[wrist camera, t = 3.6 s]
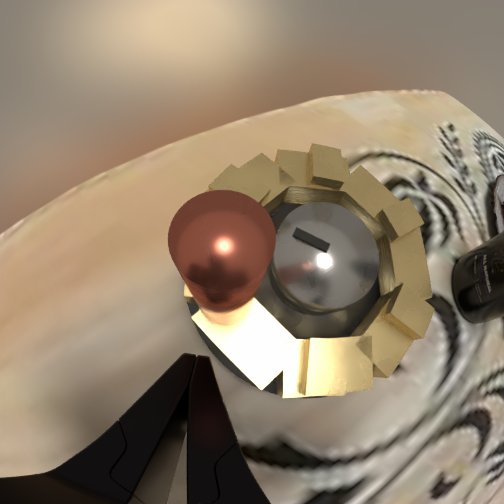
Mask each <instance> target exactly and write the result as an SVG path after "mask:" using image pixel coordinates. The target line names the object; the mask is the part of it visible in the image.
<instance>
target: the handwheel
mask: <svg viewBox="0 0 504 504" xmlns="http://www.w3.org/2000/svg"><path fill="white" fill-rule="evenodd" d="M313 202H328V203H333V204H337V205H339V206H342V207H344V208H346V209H348V210H350V211H351V212H353V213H354V214H355V215H357V216H358V217H359V218H360V219H361V220H362V221H363V222H364V223H365V224H366V226H367V227H368V228H369V230H370V231H371V233H372V235H373V237H374V239H375V241H376V244H377V248H378V252H379V271H378V280H379V288H380V297H379V299H378V300H377V301H376V303H375V304H374V306H373V307H372V308H371V310H370V311H369V312H368V314H367V315H366V316H365V317H364V319H363V320H362V321H361V323H360V324H359V325H358V326H357V328H356V329H355V330H354V331H353V333H352V334H351V335H350V336H349V337H342V338H307V339H295V338H294V337H293V336H292V335H291V334H290V333H289V332H288V331H287V330H286V329H285V328H284V327H283V326H282V325H281V324H280V323H279V322H278V321H277V320H276V319H275V318H274V317H273V316H272V315H271V314H270V313H269V312H268V311H267V310H266V309H265V308H264V307H263V306H262V305H261V304H260V303H259V302H258V301H257V300H256V299H255V298H254V297H255V295H256V292H257V290H258V288H259V286H260V283H261V281H262V279H263V277H264V275H265V272H266V270H267V268H268V266H269V263H270V261H271V259H272V256H273V253H274V251H275V245H276V232H275V227H274V224H273V221H272V219H271V217H270V215H269V214H271V213H272V212H273V211H274V210H275V209H277V208H278V207H279V206H280V205H281V204H283V203H294V204H308V203H313ZM423 224H424V222H423V220H422V218H421V217H420V215H419V213H418V212H417V210H416V209H415V207H414V205H413V204H412V202H411V201H410V199H409V198H408V199H405V200H403V201H399V200H398V199H397V198H396V197H395V196H394V195H393V194H392V193H391V192H390V191H389V190H388V189H387V188H386V187H385V186H383V185H382V184H381V183H380V182H379V181H378V180H377V179H376V178H375V177H374V176H372V175H371V174H370V173H369V172H368V171H367V170H366V169H364V168H363V167H362V166H361V165H360V166H359V167H358V168H357V169H356V170H355V171H354V172H352V173H351V174H350V172H349V168H348V163H347V159H346V158H342V157H341V149H336V148H332V147H327V146H322V145H318V144H313V143H312V145H311V148H310V150H309V153H306V152H298V151H289V150H279V149H278V150H277V154H276V159H275V163H274V162H273V161H272V160H270V159H269V158H268V157H267V156H265V155H264V154H263V153H261V154H259V155H258V156H256V157H255V158H253V159H252V160H250V161H249V162H247V163H246V164H244V165H243V166H241V167H240V168H237V167H235V166H233V165H232V164H231V165H230V166H229V167H227V168H226V169H225V170H224V171H223V172H222V173H221V174H220V175H219V176H218V177H217V178H216V179H215V180H214V181H213V182H212V183H211V184H210V185H209V189H208V190H207V191H206V192H204V193H202V194H199V195H197V196H195V197H193V198H192V199H190V200H189V201H187V202H186V203H185V204H184V205H183V206H182V207H181V208H180V209H179V210H178V212H177V213H176V214H175V216H174V218H173V220H172V222H171V225H170V228H169V233H168V247H169V251H170V255H171V257H172V260H173V261H174V263H175V265H176V267H177V269H178V271H179V273H180V274H181V276H182V278H183V280H184V282H185V286H184V297H185V299H186V300H187V301H188V303H189V304H197V305H198V306H199V308H200V310H199V311H198V312H197V313H195V314H194V315H193V316H192V317H191V318H192V319H193V320H194V321H195V323H196V324H197V325H198V326H199V327H200V328H201V329H202V330H203V331H204V332H205V334H206V335H207V336H208V337H209V338H210V339H211V340H212V341H213V342H214V343H215V344H216V345H217V346H218V347H219V348H220V350H221V351H222V352H223V353H224V354H225V355H226V356H227V357H228V358H229V359H230V360H231V361H232V362H233V363H234V364H235V365H236V366H237V367H238V368H239V369H240V370H241V371H242V372H243V373H244V374H245V375H246V376H247V377H248V378H249V379H250V380H251V381H252V382H253V383H254V384H256V385H257V386H258V387H259V388H260V389H261V390H262V389H263V388H264V387H266V386H267V385H268V384H269V383H270V382H271V381H272V380H273V379H274V378H275V377H276V393H277V394H278V395H280V396H281V397H282V398H294V397H309V396H336V395H345V393H346V392H353V391H360V390H366V389H372V388H373V377H380V378H389V377H390V375H391V374H392V372H393V371H394V370H395V368H396V367H397V365H398V364H399V362H400V361H401V360H402V358H403V357H404V355H405V353H406V352H407V350H408V349H409V347H410V346H411V344H412V343H413V341H414V340H417V339H422V338H424V336H425V333H426V331H427V328H428V326H429V323H430V320H431V318H432V315H433V312H434V308H433V307H432V306H431V305H430V304H428V303H427V302H426V301H425V300H426V299H428V298H431V297H432V291H431V284H430V277H429V271H428V265H427V260H426V255H425V250H424V245H423V240H422V236H421V232H420V228H419V227H420V226H421V225H423Z"/></svg>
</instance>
